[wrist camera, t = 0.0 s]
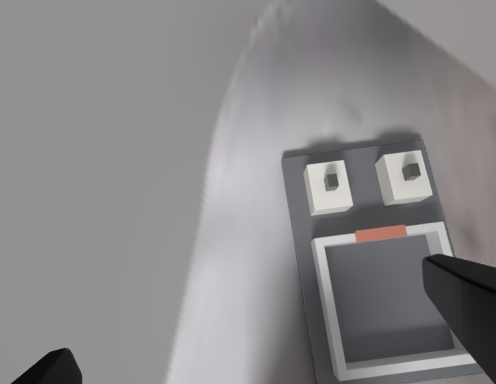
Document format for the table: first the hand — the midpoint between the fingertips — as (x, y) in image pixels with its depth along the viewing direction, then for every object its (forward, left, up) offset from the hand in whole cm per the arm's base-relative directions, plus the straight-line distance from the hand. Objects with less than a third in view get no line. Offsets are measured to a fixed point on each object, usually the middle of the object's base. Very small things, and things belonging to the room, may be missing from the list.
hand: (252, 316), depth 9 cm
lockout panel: (-3, -7, -15) cm, 17 cm away
